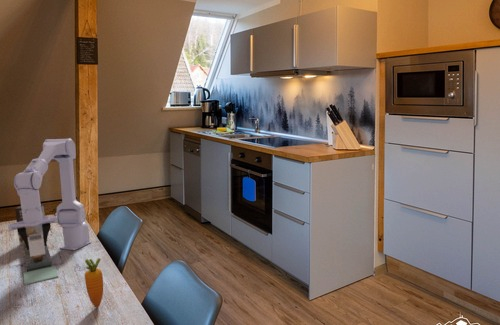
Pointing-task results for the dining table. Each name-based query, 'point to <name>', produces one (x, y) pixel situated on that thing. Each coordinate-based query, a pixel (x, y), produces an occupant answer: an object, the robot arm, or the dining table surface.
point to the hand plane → (37, 260)
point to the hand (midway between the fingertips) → (36, 247)
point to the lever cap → (36, 244)
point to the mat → (40, 275)
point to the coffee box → (30, 229)
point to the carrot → (94, 282)
